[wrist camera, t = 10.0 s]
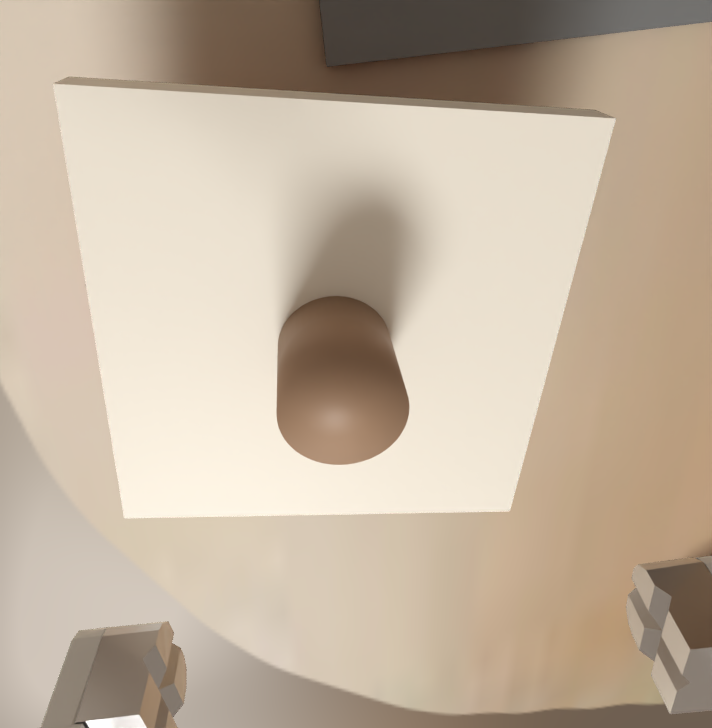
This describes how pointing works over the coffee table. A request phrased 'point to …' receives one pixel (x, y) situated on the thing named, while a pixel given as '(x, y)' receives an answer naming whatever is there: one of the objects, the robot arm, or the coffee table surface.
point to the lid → (322, 290)
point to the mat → (484, 23)
